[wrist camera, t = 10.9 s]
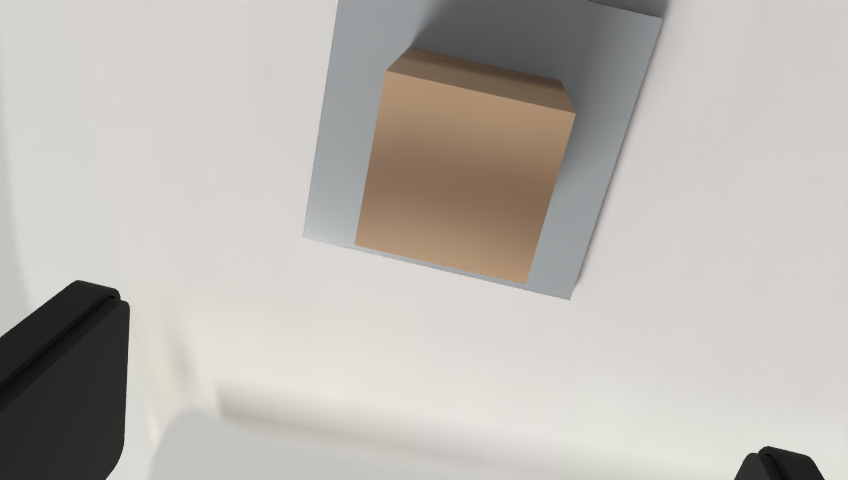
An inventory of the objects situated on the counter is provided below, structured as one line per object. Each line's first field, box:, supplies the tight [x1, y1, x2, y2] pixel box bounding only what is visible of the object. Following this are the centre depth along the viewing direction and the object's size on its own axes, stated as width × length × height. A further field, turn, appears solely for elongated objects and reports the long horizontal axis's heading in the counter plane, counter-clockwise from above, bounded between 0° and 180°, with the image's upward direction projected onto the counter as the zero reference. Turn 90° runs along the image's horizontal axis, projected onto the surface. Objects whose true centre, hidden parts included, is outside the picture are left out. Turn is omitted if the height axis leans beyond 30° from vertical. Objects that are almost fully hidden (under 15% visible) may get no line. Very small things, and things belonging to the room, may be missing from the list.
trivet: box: [303, 0, 663, 300], centre depth 28 cm, size 12×12×1 cm
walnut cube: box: [354, 47, 576, 285], centre depth 25 cm, size 6×6×6 cm
